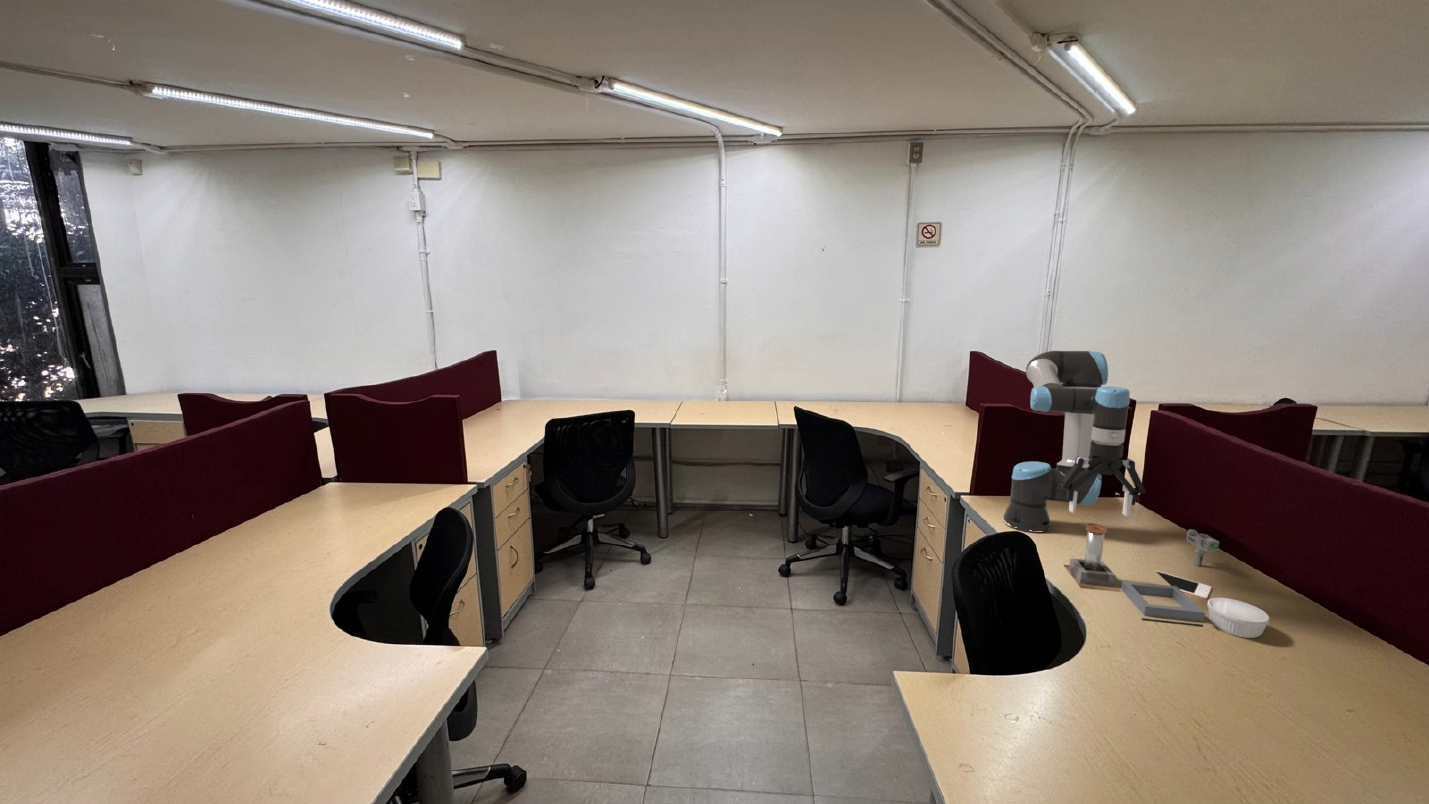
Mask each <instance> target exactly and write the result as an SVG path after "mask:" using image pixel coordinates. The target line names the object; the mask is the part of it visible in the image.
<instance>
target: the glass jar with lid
mask: <svg viewBox="0 0 1429 804" xmlns="http://www.w3.org/2000/svg"><path fill="white" fill-rule="evenodd" d="M1085 529H1086V530H1087V533H1086V534H1087V535H1086V541H1085V543H1086V544H1085V551H1084V559H1083V560H1084V569H1085V570H1089V571H1100V567H1101V561H1102V560H1103V559H1102V558H1103V549H1104V541H1105V534H1107V533H1108V527H1106V526H1105V525H1103V524H1100V523H1093V522H1089V523H1086V526H1085Z"/></svg>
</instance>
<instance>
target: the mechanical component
mask: <svg viewBox="0 0 1429 804" xmlns="http://www.w3.org/2000/svg"><path fill="white" fill-rule="evenodd" d="M1186 541H1187V542H1188V543H1189V544H1191V545H1193V546H1195V549H1194V551H1195V552H1196V554H1195V555H1196V557H1195V562H1194V566H1196V567H1199V566H1201V567H1203V566H1202V565H1203V560H1204V554H1207V552H1208V553H1217V552H1218V550H1219V547H1220V541H1219V540H1216V539H1215V538H1213V537H1211V536H1210V535H1208V534H1205V533H1198V531H1197V530H1196V529H1191V528H1189V529H1188V530H1187V533H1186Z"/></svg>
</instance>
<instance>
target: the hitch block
mask: <svg viewBox="0 0 1429 804" xmlns="http://www.w3.org/2000/svg"><path fill="white" fill-rule="evenodd" d="M1063 567H1064V568H1065V570H1066V571H1067V572H1068V573H1069V575H1070V576H1071V577H1072V578H1073V580H1074V581H1075V583H1077V585H1078V586H1079V588H1080V589H1089V590H1096V591H1097V590H1098V591H1106V592H1107V591H1108V592H1116V593H1122V590H1121V589H1119V588H1118V586H1117V585H1116V584H1115V581H1116V574H1115V573H1114V572H1113V570H1111V569H1110V567H1108V566H1107V565H1106V564H1105V562H1104V561H1103V560H1101V567H1100V571H1089V570H1085V569H1084V559H1081V558H1080V559H1079V558H1070V560H1069V564H1063Z"/></svg>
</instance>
